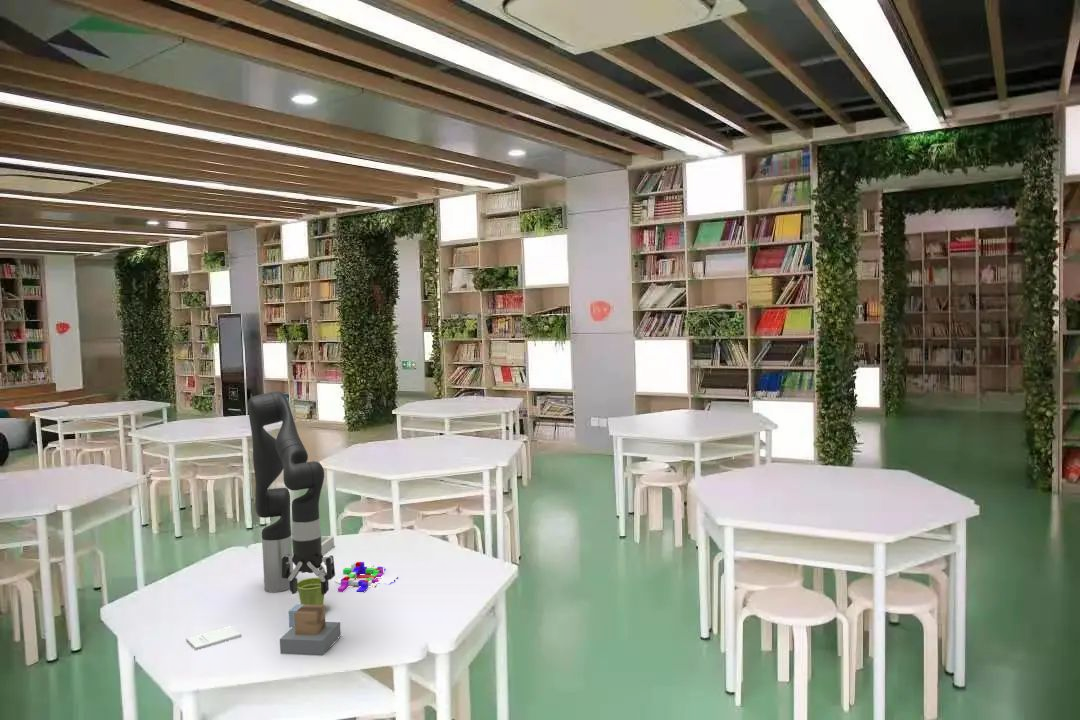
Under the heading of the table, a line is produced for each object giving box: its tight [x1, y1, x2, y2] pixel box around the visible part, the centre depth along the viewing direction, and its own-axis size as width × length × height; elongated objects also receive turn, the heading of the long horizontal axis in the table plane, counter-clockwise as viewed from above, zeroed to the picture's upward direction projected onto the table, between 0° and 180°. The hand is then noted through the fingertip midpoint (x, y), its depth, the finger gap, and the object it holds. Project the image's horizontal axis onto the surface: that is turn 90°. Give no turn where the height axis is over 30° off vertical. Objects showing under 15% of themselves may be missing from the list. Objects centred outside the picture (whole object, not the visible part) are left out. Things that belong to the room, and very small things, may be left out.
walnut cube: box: [294, 604, 326, 635], centre depth 211 cm, size 6×6×6 cm
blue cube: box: [288, 603, 303, 628], centre depth 225 cm, size 5×5×5 cm
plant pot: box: [297, 577, 325, 605], centre depth 235 cm, size 9×9×9 cm
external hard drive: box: [185, 625, 242, 651], centre depth 217 cm, size 2×8×12 cm
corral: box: [291, 535, 335, 557], centre depth 292 cm, size 17×17×4 cm
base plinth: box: [279, 621, 342, 656], centre depth 211 cm, size 12×12×4 cm
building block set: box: [334, 561, 384, 593], centre depth 262 cm, size 25×20×4 cm
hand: (309, 593), depth 211 cm, fingers open, 8 cm apart
